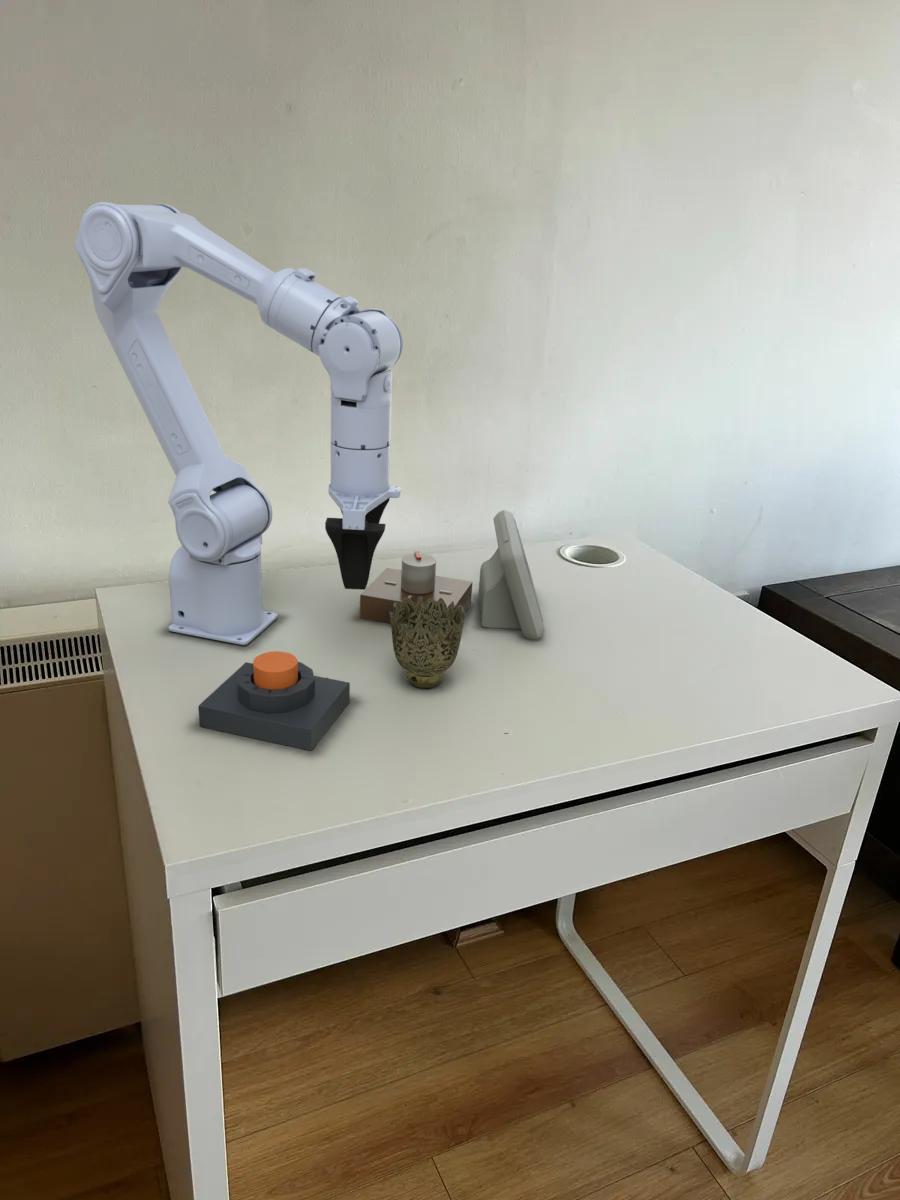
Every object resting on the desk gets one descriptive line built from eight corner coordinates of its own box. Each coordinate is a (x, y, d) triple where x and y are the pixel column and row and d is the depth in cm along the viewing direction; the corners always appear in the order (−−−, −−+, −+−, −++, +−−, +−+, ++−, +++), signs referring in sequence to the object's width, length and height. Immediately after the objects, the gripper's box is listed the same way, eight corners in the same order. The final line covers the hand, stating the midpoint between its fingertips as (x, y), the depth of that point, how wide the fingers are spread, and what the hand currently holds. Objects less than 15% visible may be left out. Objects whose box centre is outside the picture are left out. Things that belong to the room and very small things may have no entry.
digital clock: (541, 647, 100) (551, 558, 96) (462, 636, 101) (468, 548, 97) (553, 591, 115) (562, 512, 110) (483, 582, 116) (490, 503, 112)
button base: (199, 726, 82) (196, 688, 80) (246, 681, 90) (245, 645, 88) (311, 751, 79) (310, 711, 77) (349, 702, 87) (350, 665, 85)
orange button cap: (246, 686, 82) (245, 666, 81) (266, 667, 85) (265, 647, 84) (286, 695, 81) (286, 674, 80) (305, 674, 84) (305, 655, 83)
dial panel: (359, 618, 104) (360, 593, 103) (386, 589, 112) (386, 566, 111) (450, 634, 102) (452, 609, 100) (471, 604, 110) (472, 580, 108)
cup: (452, 705, 88) (457, 631, 84) (379, 694, 89) (381, 620, 85) (466, 670, 94) (471, 600, 91) (398, 660, 95) (400, 591, 92)
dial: (437, 594, 104) (439, 563, 103) (403, 594, 104) (404, 564, 102) (431, 580, 108) (433, 550, 106) (398, 581, 107) (399, 551, 106)
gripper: (399, 465, 80) (394, 604, 86) (404, 427, 93) (399, 549, 99) (319, 461, 80) (320, 600, 85) (336, 423, 93) (335, 546, 99)
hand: (358, 573), depth 92 cm, fingers open, 7 cm apart
